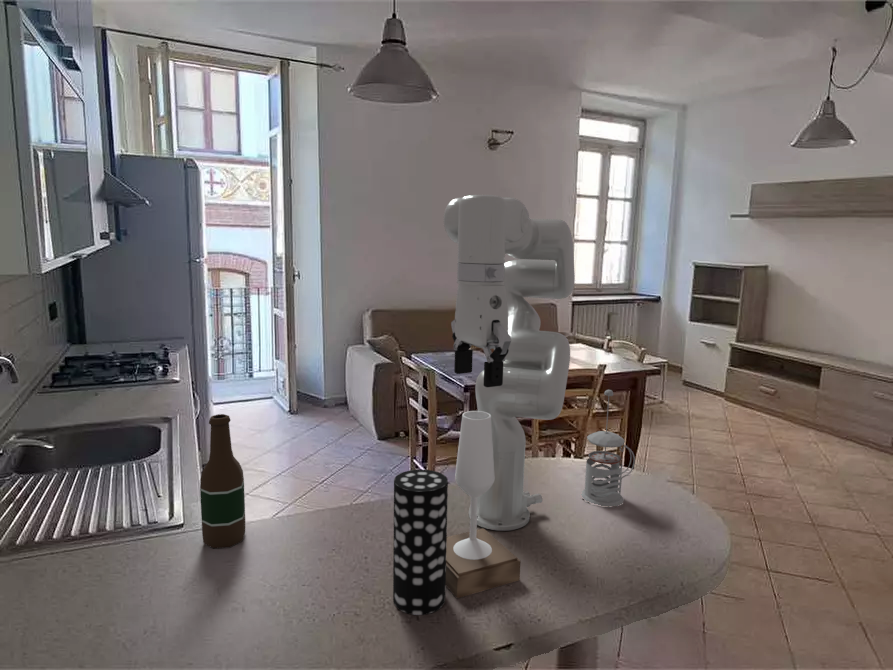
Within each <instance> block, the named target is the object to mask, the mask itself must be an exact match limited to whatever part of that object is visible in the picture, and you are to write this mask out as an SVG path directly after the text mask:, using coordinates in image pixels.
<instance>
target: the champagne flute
mask: <svg viewBox="0 0 893 670" xmlns="http://www.w3.org/2000/svg"><path fill="white" fill-rule="evenodd" d="M456 456H457V457H456V466H455V472H454V473H455V475H454V480H455V482H456V484H457V486H458V488H460V489H461V491H463V493H465V494H466V495H467V496H469V497H470V505H469V508H470V518H469V532H470V538H467V539H464V540H461V541H459V542H457V543H456V544H455V545H454V547H453V550H454V552H455V553H456V554H457V555H458V556H460V557H462V558H466V559H473V560H475V559H482V558H485V557H487V556H489V555H490V554H491V552H492V548H491V546H490V545H489V544H488V543H486V542H484V541H482V540H480V539H477V538H476V532H477V530H478V529H477V527H478V525H477V500H478V497H479V496H481V495H482V494H484V493H485V492H486V491H487V490H489V488H490V487H491V486H492V484H493V483H494V480H495V476H494V459H493V442H492V426H491V415H490V414H489V413H486V412H482V411H478V410H469V411H465V412H463V413H462V415H461V423H460V431H459V440H458V450H457V455H456Z"/></svg>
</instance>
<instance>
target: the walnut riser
mask: <svg viewBox="0 0 893 670" xmlns="http://www.w3.org/2000/svg"><path fill="white" fill-rule="evenodd" d="M467 538H470V531H467V532H466V531H465V532H462V533H458V534H454V535H449V536H447V546H446V587H447V588H449V589H450V590H449V589H448V590H449V591H450V592H451V593H452V595H454V597H455V598H456V599H461V598H465V597H467V596H471V595H474V594H478V593H481V592H484V591H487V590H491V589H494V588H497V587H502V586H505V585H509V584H512V583H515V582H519V581H521V562H522V561H521V560H520V558H519V557H517V556H516V555H515V554H514V553H513V552H511V551H510V550H509V549H508V548H507V547H506V546H505V545H503V544H502V543H501V542H500V541H499V540H498V539H496V538H495V537H494V535H492V534H491V533H489V531H488V530H486V528H483V527H482V528H480V529H479V528H478V529H477V532H476V538H477V539H480V540H482V541H484V542H486V543H488V544H489V545H490V546H491V548H492V552H491V554H490V555H489V556H487V557H485V558H482V559H475V560H473V559H466V558H462V557H460V556H458V555H457V554H456V553H455V552H454V550H453V547H454V545H455V544H456V543H457V542H459V541H461V540H464V539H467Z"/></svg>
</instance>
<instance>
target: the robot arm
mask: <svg viewBox="0 0 893 670" xmlns="http://www.w3.org/2000/svg"><path fill="white" fill-rule="evenodd" d="M443 227H444V231H445V232H446V235H447V237H448V238H449V239H450V241H451V242H453V243H455V244H457V264H456V265H457V269H456V270H457V271H456V283H457V284H458V285H457V290H456V298H455V299H456V300H455V310H454V311H455V313H454V319H453V320H452V321H451V322H450V326H451V331H452V340H453V342H454V343H453V350H454V369H453V370H454V374H456V375H461V374H469V373H470V374H471V373H472V372H473V354H474V353H473V352H474V350H473V349H471V347H473V346H474V347H476V348H479V349H482V350H483V353H484V355H485V359H486V361H484V362H483V364H484V365H483V370H482V371H480V373H479V374H478V376H477V377H476V381H475V386H474V387H475V388H474V389H475V399H476V408H477V411H482V412H486V413H489V414H490V415H491V426H492V442H493V459H494V476H495V480H494V483H493V484H492V486H491V487H490V488H489V490H487V491H486V492H485V493H484V494H482V495H481V496H479V497H478V500H477V526H479V527H481V528H482V529H483V528H484V529H485V530H486V529H487V530H492V531H498V532H499V531H502V532H504V531H515V530H518V529H521V528H522V527H524V526H526V525H527V524H528V523H529V522H530V518H531V515H530V514H531V513H530V511H529V509H528V508H530V506H531V505H536V504H537V505H538V504H540V503H542V502H543V496H542V495H541V494H542V493H541V494H540V493H535V494H531V493H530V491H524V487H525V486H524V484H525V483H524V482H525V481H524V480H525V479H524V478H525V464H526V463H525V462H526V461H525V459H526V443H527V442H526V441H527V440H526V435H525V434H526V433H525V431H524V429H523V426H522V425H521V423H520V421H519V420H518V419H517V418H524V419H525V418H527V419H534V420H546V421H548V420H550V421H551V420H554V419H556V418H558V417H559V415H560V414H561V412H562V409H563V407H564V401H565V395H566V390H567V389H566V388H567V383H568V377H569V376H568V375H569V369H570V364H571V363H570V361H571V346H570V345H571V344H570V343H569V340H568V338H567V337H566V335H564V334H562V333H560V332H557V331H548V330H540V328H541V324H542V323H541V318H540V316H539V314H538V312H537V311H536V309H535V308H534V306H532V305H531V304H530V302H528V301H527V300H526V299H525V298H529V299H530V298H531V299H532V298H533V299H534V298H535V299H549V300H550V299H552V300H555V299H556V300H563V299H566V298H569V296H570V295H572V293H573V290H574V288H575V282H576V281H575V280H576V278H575V277H576V274H575V273H576V272H575V260H574V259H575V257H574V256H575V254H574V243H573V236H572V232H571V228H570V226H569V224H568V223H567V222H566V221H565V220H562V219H558V218H557V219H554V218H553V219H551V218H549V219H548V218H547V219H546V218H531V217H530V214H529V209H527V207H526V205H525V204H524V203H523V201H521V200H520V199H518V198H515V197H502V196H500V195H494V194H471V195H470V194H469V195H466V196H465V195H464V196H463V197H456V198H454V199H452V200H451V201H449V202H448V204H447V205H446V207H445V209H444V212H443ZM506 255H507V256H508V257H511V258H514V259H513V260H509V261H506ZM492 350H493V352H492ZM468 518H469V519H470V507H469V508H468Z"/></svg>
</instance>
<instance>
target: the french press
mask: <svg viewBox="0 0 893 670" xmlns="http://www.w3.org/2000/svg"><path fill="white" fill-rule="evenodd" d="M604 396H607V399H608V400H607V411H606V412H607V413H606V427H605V428H606V429H605V430H598V431H595V432H592V433H590V434H588V435H587V436H586V438H587V441H588V442H589V443H590V444H591V445H594V446H597V447H604V450H594V451H593V450H592V451H591V452H588V454H587V456H588V458H587V460H586V461H585V462H586V463H585V479H584V489H583V490H582V491H581V492H582V494H581V495H582V497H583V498H584V499H585V500H586V501H589V502H591V503H594V504H598V505H601V506H617V507H619V506H618V505H620V504H622V503H623V501H624V502H625V499H624V497H623V495H622V494H621V492H622V479H624V478H625V477H627V476H629V475H630V474H631V473H632V471H633V469H634V467H635V461H636V457H635V454H634V451H632V449H631V448H630V447H629V446H628V445H626V444H625V442H626V440H625V439H624V438H623V437H622V436H620V435H619V434H617V433H615V432H612V431H609V430H608V422H609V421H608V419H609V406H610V405H609V404H610V397H613V396H614V392H613V390H612V389H606V390H605V391H604ZM606 448H619V451H621V453H622V452H624V451H625V448H626V449H627V450H628V451H629V455H630V456H629V458H630V460H629V464H628V466H627V468H626V469H625V470H624V471H623V464H622V463H620V462H621V460H622V457H621V456H620V455H619V454H617V453H615V452H611V451H606ZM632 459H633V462H632ZM596 463H598V464H596ZM631 464H632V466H631ZM593 465H594V466H593ZM630 466H631V469H630V471H629V472H628V473H627V474H625V473H626V472H627V471H628V470H629V468H630ZM601 467H603V468H604V469H603V468H601ZM623 474H624V475H623ZM622 475H623V476H622ZM623 504H624V503H623ZM623 504H622V505H623ZM620 506H621V505H620Z"/></svg>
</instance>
